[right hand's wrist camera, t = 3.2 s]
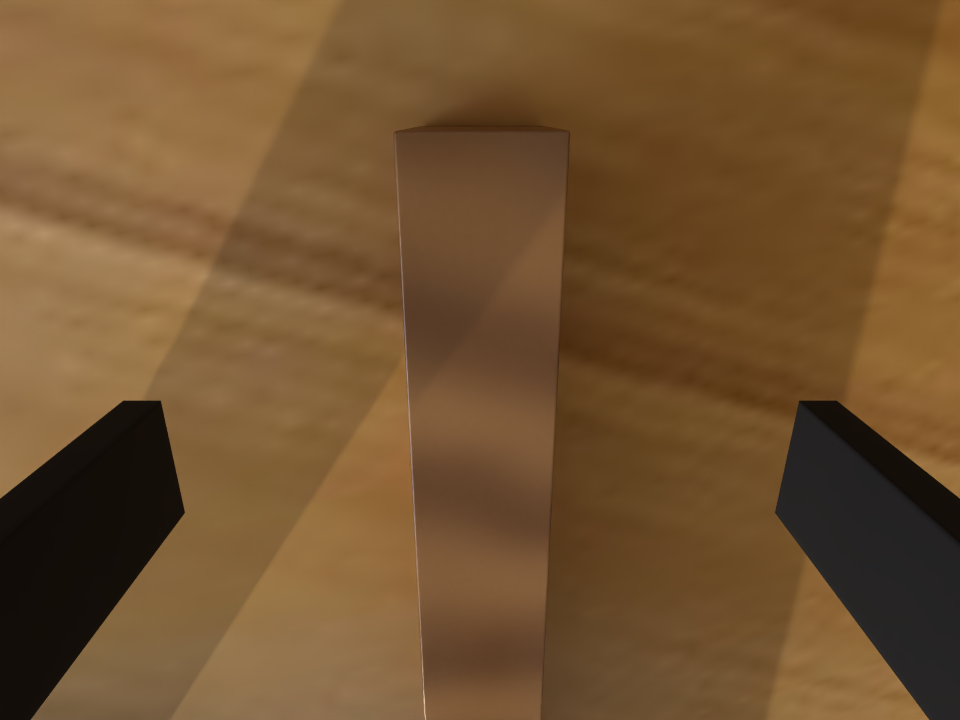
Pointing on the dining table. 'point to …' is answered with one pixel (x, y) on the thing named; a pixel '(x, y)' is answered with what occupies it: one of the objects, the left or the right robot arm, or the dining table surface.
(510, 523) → the bar
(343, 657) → the dining table surface
